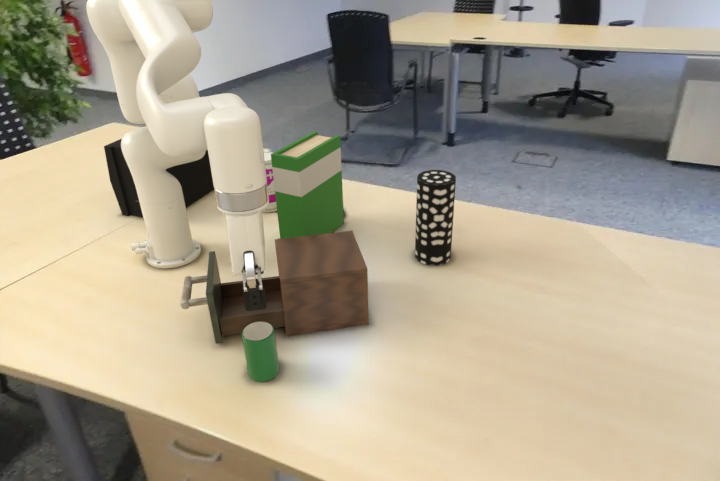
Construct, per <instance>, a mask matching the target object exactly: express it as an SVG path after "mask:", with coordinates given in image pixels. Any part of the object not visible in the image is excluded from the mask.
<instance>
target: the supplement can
mask: <svg viewBox="0 0 720 481" xmlns="http://www.w3.org/2000/svg"><path fill="white" fill-rule="evenodd" d="M272 153H274V151H273V152H272V151H264V160H265V169H266V178H267V187H268V196H269V204H268V205H267V206H266V207H265V208H264V209H262V213H275V212H277V205H276V197H275V188H274V179H273V170H272V161H271V154H272Z"/></svg>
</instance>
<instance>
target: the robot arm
mask: <svg viewBox="0 0 720 481" xmlns="http://www.w3.org/2000/svg"><path fill="white" fill-rule="evenodd" d="M85 6H86V15H87V19H88V22H89V24H90V27H91V29H92V31H93V33H94V34H95V36H96V38H97V39H98V41H99V42H100V44H101V46H102V47H103V49H104V51H105V53H106V55H107V57H108V60H109V63H110V69H111V74H112V77H113V82H114V88H115V91H116V96H117V100H118V104H119V108H120V111H121V114H122V115H123V117H124V118H125V120H126V121H128V122H129V123H130V124H134V125H143V124H145V126H140V127H136V128H134V129H130V130H129V131H128V132H126V133H125V134H124V135H123V136H122V138H121V139H122V140H121V149H122V153H123V155H124V158H125V160H126V162H127V165H128V167H129V169H130V172H131V175H132V177H133V180H134V183H135V187H136V190H137V194H138V198H139V202H140V206H141V210H142V214H143V222H144V226H145V230H146V235H147V238H148V239H145V240H144V241H136V242H131V244H130V246H131V247H130V248H131V251H134V252H135V255H143V254H145V259H146V262H147V263H148V265H150V266H151V267H154V268H158V269H175V268H178V267H182V266H185V265H187V264H190V263H192V262H193V261H195V260H196V259H197V258H198V257H199V256H200V255H201V253H202V248H201V244H200V243H199V242H198V241H197V240H194V239H193V236H192V231H191V227H190V222H189V217H188V212H187V208H186V207H185V202H184V197H183V192H182V187H181V185H180V183H179V181H178V180H177V179H176V178H175V177H174V176H173V175H171V174H170V173H168V172H167V171H166V169H167V168H170V167H173V166H177V165H181V164H185V163H189V162H193V161H197V160H199V159H201V158H202V157H203V156H204V155H205V152H206V150H208V155H209V161H210V167H211V173H212V179H213V185H214V190H213V191H214V197H215V202H216V208H217V210H218V211H219V212H220V213H223V214H224V216H225V217H224V218H225V227H226V228H225V229H226V236H227V241H228V242H227V243H228V247H229V248H228V249H229V256H230V257H229V258H230V263H231V271H232V275H234V276H238V275H241V276H242V281H243V287H244V288H243V296H244V302H245V309H246V311H253V310H260V309H266V308H267V304H266V296H265V288H264V285H263V286H262V278H263V277H262V275H263V274H264V273H265V269H266V267H265V266H266V246H265V245H266V244H265V242H266V240H265V228H264V218H263V212H262V209H264V208H265V207H266V206H267V205H268V204H269V196H268V187H267V178H266V169H265V160H264V152H265V151H264V144H263V143H264V142H263V134H262V133H263V132H262V125H261V120H260V116H259V115H258V113H257V112H256V111H255V110H254V109H252V108H250V107H248V105H247V103H246V102H245V101H244V100H243V99H242V97H240V96H239V95H238V94H235V93H231V92H225V93H218V94H213V95H207V96H200V92H199V88H198V85H197V84H196V81H195V79H194V78H193V77H192V74H191V73H192V72H193V71H194V70H195V69H196V67H197V66H198V64H199V63H200V60H201V57H202V48H201V44H200V41H199V40H198V38H197V37H196V35H195V33H197V32H201V31H204V30H206V29H208V28H209V27H210V25H211V24H212V21H213V16H214V8H213V3H212V0H87V1H86V5H85ZM256 276H257V278H256ZM256 279H258V280H256Z"/></svg>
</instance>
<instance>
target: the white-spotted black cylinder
mask: <svg viewBox="0 0 720 481" xmlns="http://www.w3.org/2000/svg"><path fill="white" fill-rule="evenodd" d="M456 182H457V176H456V175H455V174H454V173H453V172H450V171H448V170H443V169H428V170H424V171H421V172H420V173H418V174H417V176H416V202H415V206H416V207H415V208H416V209H415V238H414V239H415V240H414V242H415V243H414V257H415V259H416V261H418V262H419V263H421V264H424V265H426V266H441V265H444V264H447V263H448V262H449V261H450V260H451V257H452V243H453V229H454V228H453V227H454V212H455V198H456V185H457V183H456Z"/></svg>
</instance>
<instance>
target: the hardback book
mask: <svg viewBox="0 0 720 481" xmlns="http://www.w3.org/2000/svg"><path fill="white" fill-rule="evenodd" d="M341 146H342V145H341V135H340V134H335V135H333V136H332V137H331V136H324V135H319V133H318V131H316V130H314V131H312V132H310V133H308V134H306V135H304V136H302V137H300V138H299V139H296V140H295V141H293V142H291V143H289V144H287V145H286V146H283V147H282V148H280V149H278V150H276V151H273V153H272V154H271V161H272V170H273V179H274V188H275V197H276V205H277V211H276V213H277V224H278V231H279V239H283V238H291V237H300V236H308V235H317V234H326V233H334V232H336V231H337V230H338V229H339V228H340V227H342V225H344V224H345V215H344V195H343V194H344V193H343V191H344V190H343V170H342V168H343V167H342V147H341Z"/></svg>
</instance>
